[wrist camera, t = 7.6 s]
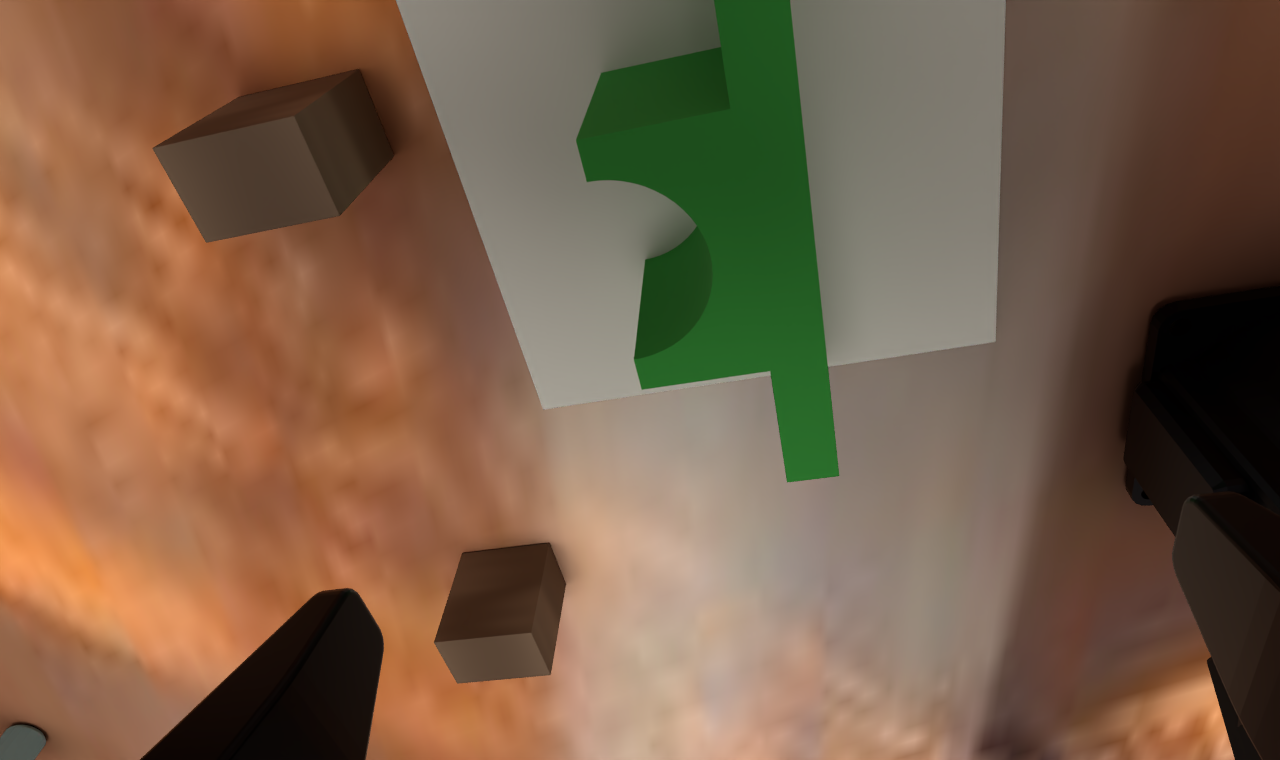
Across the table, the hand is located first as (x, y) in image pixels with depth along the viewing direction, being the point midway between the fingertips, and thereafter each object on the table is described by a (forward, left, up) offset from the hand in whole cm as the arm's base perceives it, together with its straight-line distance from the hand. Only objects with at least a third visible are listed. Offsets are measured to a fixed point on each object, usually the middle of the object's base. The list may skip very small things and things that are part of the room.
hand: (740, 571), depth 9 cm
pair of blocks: (+9, +5, -12) cm, 16 cm away
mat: (0, 0, -12) cm, 12 cm away
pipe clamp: (0, 0, -12) cm, 12 cm away
